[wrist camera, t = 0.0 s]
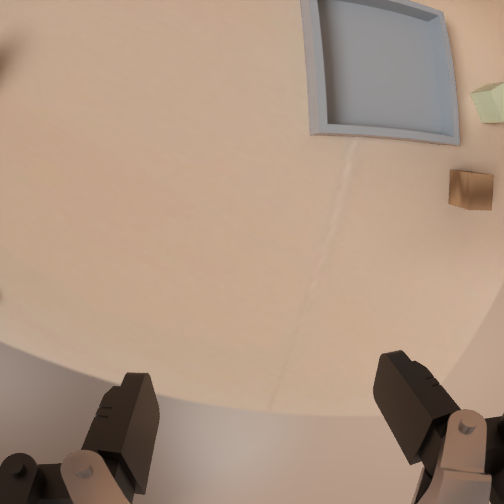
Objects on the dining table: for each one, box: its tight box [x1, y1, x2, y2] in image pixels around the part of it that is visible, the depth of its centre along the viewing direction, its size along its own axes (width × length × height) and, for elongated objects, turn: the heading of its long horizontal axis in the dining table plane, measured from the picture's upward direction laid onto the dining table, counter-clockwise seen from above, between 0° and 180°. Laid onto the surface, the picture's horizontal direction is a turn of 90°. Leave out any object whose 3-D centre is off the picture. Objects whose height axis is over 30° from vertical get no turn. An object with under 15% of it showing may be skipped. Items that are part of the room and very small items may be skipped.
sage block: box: [470, 82, 504, 123], centre depth 33 cm, size 5×5×5 cm
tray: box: [300, 0, 460, 145], centre depth 31 cm, size 20×20×4 cm
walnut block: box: [449, 170, 494, 210], centre depth 36 cm, size 5×5×5 cm
